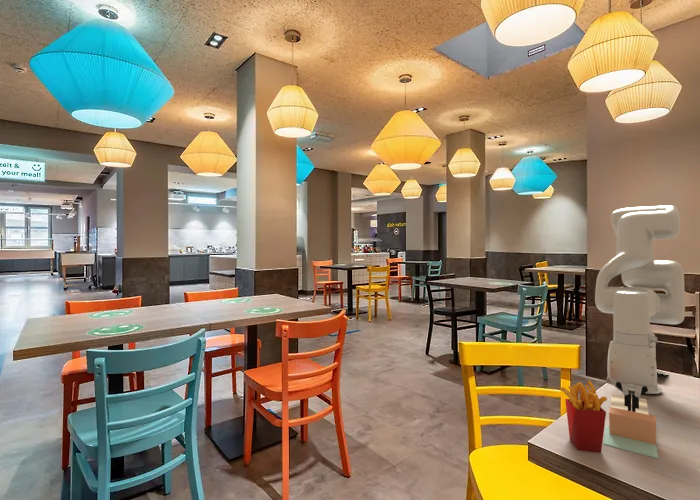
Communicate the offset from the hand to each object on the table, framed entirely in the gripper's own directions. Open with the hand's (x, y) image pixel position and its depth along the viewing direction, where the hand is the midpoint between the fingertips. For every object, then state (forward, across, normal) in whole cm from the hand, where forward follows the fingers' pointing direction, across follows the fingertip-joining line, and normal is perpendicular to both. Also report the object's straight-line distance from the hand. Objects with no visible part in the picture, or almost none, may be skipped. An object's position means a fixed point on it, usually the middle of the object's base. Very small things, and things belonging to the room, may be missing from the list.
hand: (631, 409), depth 96 cm
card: (+1, 0, +5) cm, 5 cm away
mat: (+5, 0, +8) cm, 9 cm away
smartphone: (+4, -5, -49) cm, 49 cm away
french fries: (+5, +10, +16) cm, 20 cm away
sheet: (+5, 0, -6) cm, 8 cm away
